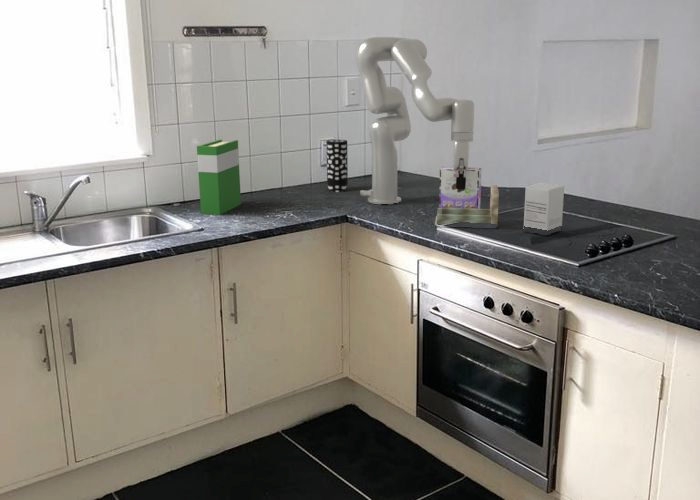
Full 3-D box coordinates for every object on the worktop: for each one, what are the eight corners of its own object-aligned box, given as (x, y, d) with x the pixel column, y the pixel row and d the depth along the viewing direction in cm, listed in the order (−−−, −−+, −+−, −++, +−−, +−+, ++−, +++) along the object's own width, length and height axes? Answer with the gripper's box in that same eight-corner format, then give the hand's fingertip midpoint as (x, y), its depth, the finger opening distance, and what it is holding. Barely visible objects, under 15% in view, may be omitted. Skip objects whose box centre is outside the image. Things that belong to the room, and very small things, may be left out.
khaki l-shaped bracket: (435, 227, 247) (435, 191, 243) (435, 218, 258) (436, 184, 255) (497, 229, 244) (498, 192, 241) (495, 220, 255) (496, 185, 252)
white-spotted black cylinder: (347, 192, 303) (347, 142, 298) (326, 192, 303) (326, 142, 298) (347, 188, 311) (347, 139, 306) (327, 188, 311) (326, 139, 306)
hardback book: (222, 203, 285) (219, 139, 278) (240, 204, 283) (237, 140, 276) (200, 213, 268) (196, 146, 262) (219, 214, 266) (216, 146, 260)
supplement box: (537, 226, 246) (540, 181, 242) (562, 231, 240) (565, 185, 236) (522, 232, 240) (524, 185, 236) (546, 237, 234) (550, 189, 230)
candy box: (480, 213, 265) (482, 167, 261) (477, 217, 260) (479, 170, 255) (441, 211, 269) (443, 165, 265) (438, 214, 264) (439, 168, 260)
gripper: (451, 133, 266) (449, 181, 270) (450, 139, 249) (449, 190, 254) (472, 133, 265) (471, 181, 269) (473, 140, 248) (472, 191, 253)
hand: (460, 186), depth 262 cm, fingers open, 9 cm apart
